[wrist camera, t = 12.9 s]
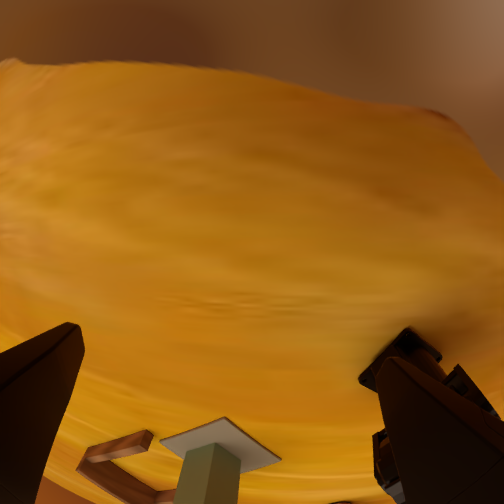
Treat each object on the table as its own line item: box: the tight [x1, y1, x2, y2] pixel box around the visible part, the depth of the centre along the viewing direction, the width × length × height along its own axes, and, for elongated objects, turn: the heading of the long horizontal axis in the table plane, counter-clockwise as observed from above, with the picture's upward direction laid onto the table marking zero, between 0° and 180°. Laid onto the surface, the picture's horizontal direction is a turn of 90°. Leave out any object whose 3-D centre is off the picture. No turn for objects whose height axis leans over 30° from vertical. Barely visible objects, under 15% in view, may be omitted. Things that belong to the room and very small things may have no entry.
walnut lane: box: [76, 430, 176, 504], centre depth 27 cm, size 15×14×5 cm
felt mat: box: [159, 417, 281, 474], centre depth 26 cm, size 10×10×1 cm
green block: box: [173, 442, 241, 504], centre depth 22 cm, size 4×4×10 cm
